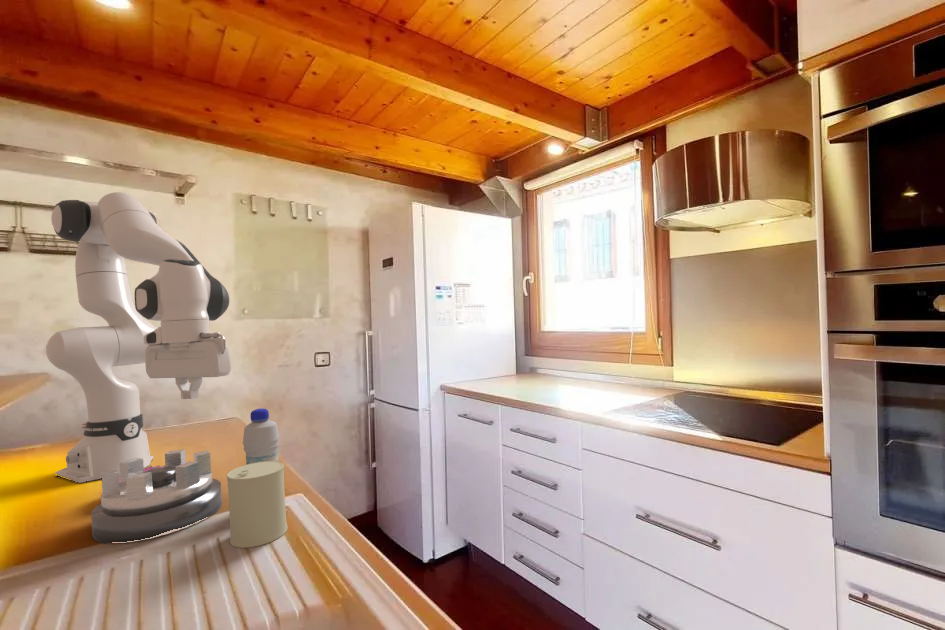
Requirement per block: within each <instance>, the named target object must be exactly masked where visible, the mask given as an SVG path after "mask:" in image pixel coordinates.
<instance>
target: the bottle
mask: <svg viewBox="0 0 945 630" xmlns="http://www.w3.org/2000/svg"><path fill="white" fill-rule="evenodd" d="M243 430H244V431H243V437H242V438H243V439H242V444H243V450H244V452H245V465H247V464H252V463H257V462H265V461H277V462H279V449H278V447H279V445H280V435H279V430H278V426H277V423H276V422H275V421H273V420H270V413H269V410H268V409H266V408H256V409H253V410H251V412H250V423H248V424H247V425H245V427H244V428H243Z"/></svg>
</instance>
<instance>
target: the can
mask: <svg viewBox="0 0 945 630" xmlns="http://www.w3.org/2000/svg"><path fill="white" fill-rule="evenodd" d="M284 467H285V465H284V463H282V462H281V461H278V462H277V461H265V462H257V463H252V464H247V465H246V464H245V465H241V466H238V467H236V468H233V469H232V470H230V471H229V472H227V474H226V482H227V493H228V506H229V507H228V509H229V529H230V531H229V532H230V535H229V537H230V538H229V543H230V545H231V546H233V547H235V548H241V549H246V548H247V549H248V548H253V547H254V548H256V547H259V546H263V545H267V544H270V543H272V542H274V541H276V540H278V539H280V538H281V537H283V536H284V535H285V534H286V533H287V532H288V524H287V512H286V511H287V510H286V495H285V494H286V493H285V491H286V490H285V473H284V470H285V469H284Z"/></svg>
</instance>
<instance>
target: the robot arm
mask: <svg viewBox="0 0 945 630" xmlns="http://www.w3.org/2000/svg"><path fill="white" fill-rule="evenodd" d="M50 220H51V225H52V227H53V230H54V233H55V234H56V235H57V236H58V237H59V238H60V239H63V240H66V241H71V242H74V243H78V244H77V247H76V253H75V262H74V263H75V265H74V267H75V282H76V289H77V290H76V291H77V298H78V303H79V305H80V306H81V308H82V309H84V310H85V312H88V313H91V314H94V315H96V316H98V317H100V318H102V319H103V320H104V321H106V322H107V324H108V325H107V326H103V325H102V326H84V327H83V326H82V327H80V326H79V327H75V328H69V329H65V330H61V331H60V330H59V331H56V332H55V333H54V334H52V336H50V338H49V339H48V341H47V344H46V346H45V354H46V358H47V360H48V361H49V362H50V364H52V365H53V366H54V367H55V368H57V369H58V370H62V371H63V372H66V373H67V374H68V375H71V376H72V378H74V380H76V381H77V383H78V384H79V385H80V387H81V388H82V391H83V392H84V396H85V402H86V409H87V410H86V411H87V422H85V423H82V424H81V425H82V429H84V432H83V437H82V438H81V439H79V441H78V442H76V444H75V445H74V446H73V447H71V448H70V450H68V452H67V455H65V456H66V457H65V461H66V467H65V468H63V469H62V468H61V469H60V470H58V471H55V472H54V475H55V474H57V475H59V476H62V477H65V478H68V479H70V480H73V481H75V482H74V483H77V482H78V484H79V483H80V484H81V483H87V482H92V481H95V480H102V479H101V478H102V475H101V473H104V472H108V471H113V470H118V472H119V475H120V463H121V462H124V461H127V460H130V459H133V458H141V459H143V465H144V468H147V467H150V466H151V464H152V463H151V462H152V461H153V460H154V459H153V458H154V455H151V453H150V448H149V447H150V445H149V441H148V437H147V436H148V435H147V432H146V431H144V430H143V427H144V417H143V414H142V413H141V401H140V399H141V397H140V389H139V387H138V385H137V384H136V383H135V382H132V381H130V380H127V379H124V378H121V377H117V376H116V375H115V374H114V373H113V367H120V366H121V367H122V366H130V365H139V364H144V363H145V372H146V375H147V377H149V379H175V384H176V386H177V388H178V389H179V391H180V398H181V399H182V400H188V399H189V400H194V399H198V398H199V389H200V387H201V385H202V383H203V378H218V377H219V378H220V377H225V376H228V375H229V374H230V372H231V371H232V364H231V357H230V354H229V353H230V352H229V348H228V346H227V343H226V342H227V341H226V338H225V337H224V336H223V335H222V334H221V333H220V332H217V331H216V332H211V328H210V327H211V326H210V321H211V322H212V321H216V320H218V319H220V317H221V316H223V315H224V314H225V313H226V311H227V310H228V308H229V305H230V296H229V295H230V294H229V293H228V290H227V288H226V286H224V285H223V284H222V282H220V281H219V279H217V278H216V277H214V276H212V275H211V273H210V272H209V271H208V270H207V269H206V268H205V266H203V264H202V262H200V261H199V260H198V259H197V257H196V256H195V255H194V254H193V253H192V252H191V250H190V249H189V248H188V247H187V246H186V245H185V244H183V243H182V242H181V241H179V240H178V239H176V238H174V237H173V236H171V235H170V234H169V233H167V232H166V231H165V230H163V229H162V228H161V227H160V226H159V225H158V223H157V219H156V217H155V216H154V214H153V213H152V212H151V211H149V210H148V209H147V208H146V207H145V205H144V204H142V202H141V201H139V199H137V198H136V197H135V196H134V195H131V194H129V193H126V192H121V191H120V192H110V193H107V194H105V195H104V196H102V197H101V198H100V199H99V201H82V200H78V199H66V200H61V201H60V202H58V203H56V204H55V205H54V208H53V210H52V212H51V217H50ZM126 260H129V261H134V262H139V263H144V264H147V265H148V264H149V265H154V266H158V267H159V268H158V271H157V273H156V274H155V275H153V276H152V277H151V278H146V279H145V280H143V281H142V282H141V283H139V284H138V285H137V286H136V287H135V288H134V301H133V297H132V293H131V289H130V283H129V274H128V269H127V263H126ZM149 321H158V322H160V326H159V327H158V326H155V325H154V324H153V323H151V322H149ZM152 459H153V460H152ZM151 460H152V461H151ZM70 480H69V481H70ZM73 481H72V482H73ZM86 481H87V482H86Z"/></svg>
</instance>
